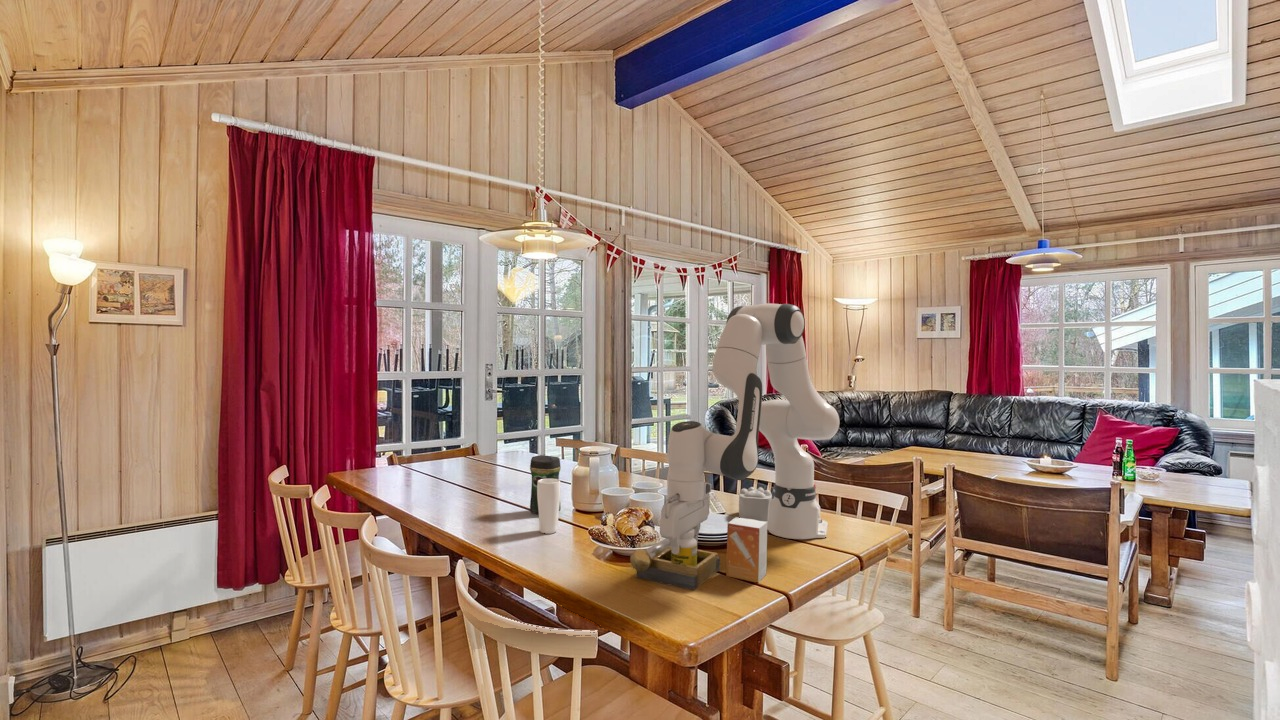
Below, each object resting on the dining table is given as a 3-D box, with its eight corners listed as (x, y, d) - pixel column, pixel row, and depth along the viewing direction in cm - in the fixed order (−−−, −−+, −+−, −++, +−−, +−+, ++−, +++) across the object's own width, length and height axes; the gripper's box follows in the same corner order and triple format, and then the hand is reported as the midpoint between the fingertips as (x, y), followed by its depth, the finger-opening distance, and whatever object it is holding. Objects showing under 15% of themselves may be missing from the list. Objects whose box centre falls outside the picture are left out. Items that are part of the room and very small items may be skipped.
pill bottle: (666, 576, 148) (666, 530, 147) (678, 568, 153) (679, 524, 153) (689, 582, 144) (689, 534, 144) (701, 573, 149) (701, 528, 149)
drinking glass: (562, 528, 185) (562, 478, 185) (557, 535, 178) (557, 483, 178) (540, 527, 186) (540, 477, 185) (534, 534, 179) (534, 482, 178)
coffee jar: (564, 511, 204) (564, 455, 204) (550, 517, 197) (551, 459, 197) (540, 507, 208) (540, 452, 208) (525, 513, 201) (526, 456, 201)
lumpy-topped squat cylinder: (737, 519, 196) (738, 492, 196) (740, 509, 209) (740, 483, 209) (771, 522, 194) (771, 494, 194) (772, 511, 207) (772, 485, 206)
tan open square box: (662, 557, 160) (662, 531, 160) (719, 569, 152) (720, 541, 152) (630, 578, 146) (630, 548, 146) (691, 592, 138) (692, 561, 138)
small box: (725, 577, 148) (726, 522, 147) (735, 568, 153) (735, 516, 153) (758, 583, 144) (759, 527, 143) (767, 574, 149) (767, 521, 149)
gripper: (678, 501, 138) (677, 562, 138) (714, 483, 155) (713, 538, 156) (653, 497, 141) (652, 557, 141) (691, 480, 159) (690, 534, 159)
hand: (685, 547), depth 149 cm, fingers open, 8 cm apart
